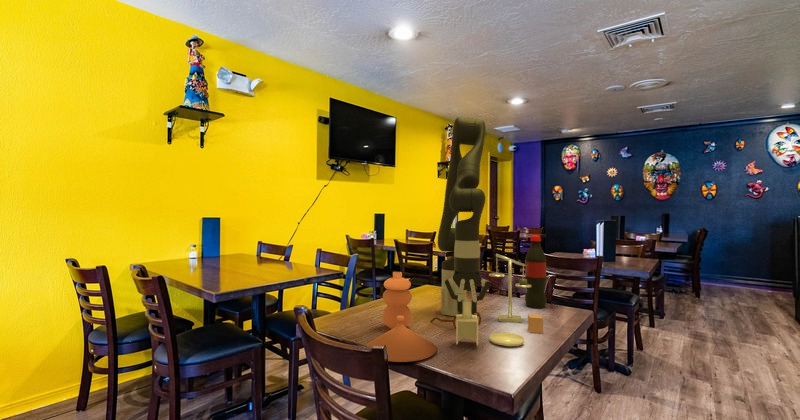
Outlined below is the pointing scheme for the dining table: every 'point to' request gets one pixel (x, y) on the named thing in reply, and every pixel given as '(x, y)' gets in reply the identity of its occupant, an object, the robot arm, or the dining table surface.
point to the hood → (466, 322)
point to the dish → (506, 339)
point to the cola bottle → (535, 274)
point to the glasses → (454, 319)
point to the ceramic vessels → (401, 324)
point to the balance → (510, 289)
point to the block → (535, 323)
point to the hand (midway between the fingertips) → (467, 313)
